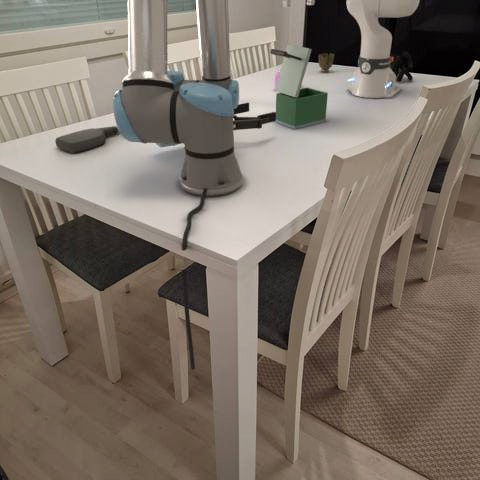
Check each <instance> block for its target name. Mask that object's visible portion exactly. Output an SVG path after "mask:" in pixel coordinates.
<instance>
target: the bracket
mask: <svg viewBox="0 0 480 480" xmlns="http://www.w3.org/2000/svg"><path fill="white" fill-rule="evenodd" d="M279 74H280V71H277V72H276V73H275V75H274V76H275V77H274V82H275V83H274V90H275V89H276V85H277V82H278V78H279Z"/></svg>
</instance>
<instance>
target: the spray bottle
mask: <svg viewBox="0 0 480 480" xmlns="http://www.w3.org/2000/svg"><path fill="white" fill-rule="evenodd" d="M119 133H120V131H119V129H118V127H117V125H113V126H105V127H98V128H97V127H96V128H94V127H93V128H87V129H83V130H82V129H81V130H78V131H74V132H70V133H67V134H64V135H61V136H58V137H56V138H55V140H54V142H55V145H56V147H57V148H58V149H61V150H63V151H66V152H68V153H71V154H76V153H79V152H84V151H87V150H90V149H93V148H96V147H99V146H101V145H103V144H104V143H105V140H106V137H110V136H113V135H117V134H119Z"/></svg>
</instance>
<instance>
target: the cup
mask: <svg viewBox="0 0 480 480" xmlns="http://www.w3.org/2000/svg"><path fill="white" fill-rule="evenodd" d="M334 59H335V54H334V53H329V54H328V52H326V53H324V52H323V53H319V54H318V66H319V68H320V69H321V70H320V71H321V72H322V73H328V72H329V71H330V69H331V68H332V67H333V63H334Z"/></svg>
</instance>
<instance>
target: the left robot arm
mask: <svg viewBox="0 0 480 480" xmlns="http://www.w3.org/2000/svg"><path fill="white" fill-rule="evenodd" d="M195 7H196V8H195V9H196V20H197V21H196V23H197V34H198V47H199V58H200V60H199V62H200V72H201V73H200V75H201V79H185V77H184V73H182V71H179V70H168V0H127V13H128V14H127V19H128V20H127V22H128V25H127V26H128V27H127V28H128V74H127V75H126V76H125V77H124V78H123V79H122V89H118V90H116V91H115V92H114V94H113V98H112V108H113V116H114V120H115V123H116V126H117V127H118V129H119V131H120V132H119V133H120V135H121V136H122V137H123V139H124V140H126V141H127V142H131V143H139V144H140V143H141V144H155V145H156V146H158V147H160V148H168V147H175V146H178V145H181V144H183V146H184V154H185V155H184V158H183V164H182V168H181V171H180V176H179V183H180V184H179V185H180V188H181V189H182V191H184V192H186V193H187V194H190V195H194V196H199V197H200V201H199V205H197V207H195V208H194V209H192V210H190V211H189V212H188V214H187V215H186V226H185V229H184V231H183V235H182V241H181V250H182V252H183V251H186V250H187V247H188V238H189V233H190V230H191V227H192V216H193V215H195V214H196V213H198V212H199V211H200V210H202V208H203V207H204V205H205V199H206V197H221V196H224V195H229V194H232V193H234V192H235V191H237V190H239V189H240V188H241V187H242V185H243V174H242V171H241V168H240V165H239V163H238V160H237V157H236V154H235V138H234V137H235V135H234V134H235V133H234V131H237V130H240V131H241V130H253V129H257V130H260V129H263V125H266V124H269V123H274V122H275V121H276V111H272V112H267V113H263V114H259V115H257V116H237V115H239V114H240V115H241V114H244V113H249V112H250V102H242V103H240V84H239V81H238V80H236V79H232V77H231V50H230V25H229V24H230V21H229V0H195ZM275 123H276V122H275ZM187 272H188V271H187V270H186V269H182V270H181V277H182V295H183V308H184V309H183V310H184V317H185V318H184V319H185V327H186V334H187V344H188V354H189V362H190V369H191V370H195V369H196V364H195V363H196V362H195V354H194V344H193V336H192V327H191V317H190V304H189V292H188V273H187Z"/></svg>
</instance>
